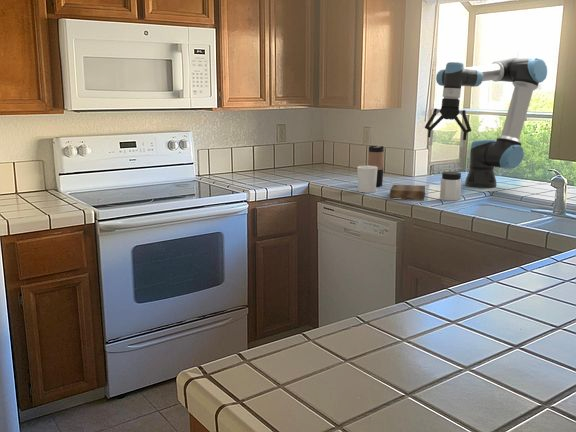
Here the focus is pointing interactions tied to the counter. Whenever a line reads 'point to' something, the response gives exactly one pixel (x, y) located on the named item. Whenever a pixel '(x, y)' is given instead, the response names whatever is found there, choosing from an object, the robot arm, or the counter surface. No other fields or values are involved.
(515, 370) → the counter surface
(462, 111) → the robot arm
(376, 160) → the travel mug
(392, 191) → the walnut plinth
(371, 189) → the candle holder
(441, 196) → the jar
